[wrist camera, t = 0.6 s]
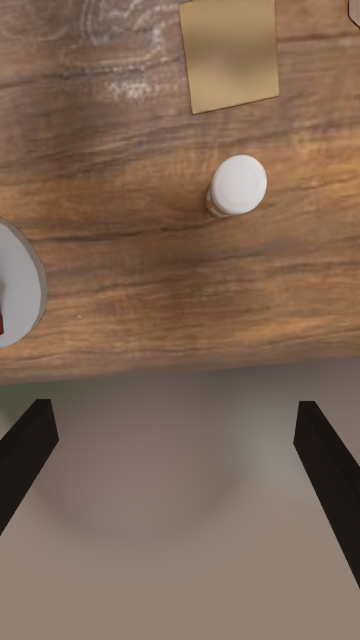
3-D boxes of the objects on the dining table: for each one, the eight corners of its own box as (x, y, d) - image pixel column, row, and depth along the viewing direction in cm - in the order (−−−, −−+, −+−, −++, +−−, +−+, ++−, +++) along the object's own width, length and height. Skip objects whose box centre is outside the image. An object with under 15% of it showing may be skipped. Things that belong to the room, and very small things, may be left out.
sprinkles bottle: (217, 225, 37) (231, 225, 24) (198, 195, 36) (201, 178, 23) (247, 203, 36) (278, 190, 23) (228, 171, 35) (249, 139, 22)
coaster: (178, 7, 30) (178, 4, 29) (272, -17, 29) (273, -20, 28) (192, 115, 33) (192, 114, 33) (278, 96, 32) (279, 95, 32)
